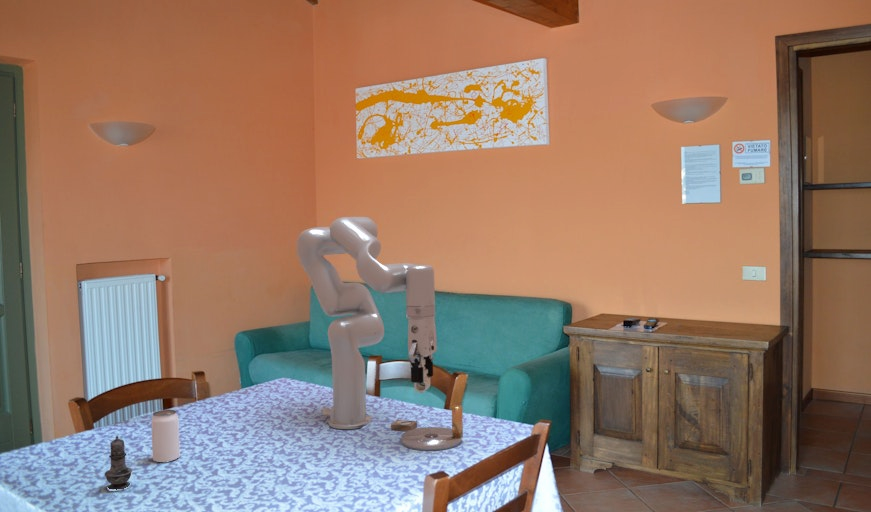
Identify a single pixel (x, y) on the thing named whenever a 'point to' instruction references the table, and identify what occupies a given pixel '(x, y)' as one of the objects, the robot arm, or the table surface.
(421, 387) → the valve
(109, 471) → the salt shaker
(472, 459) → the table surface
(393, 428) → the dial pad
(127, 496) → the table surface
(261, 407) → the table surface
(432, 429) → the handwheel
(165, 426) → the can
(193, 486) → the table surface
